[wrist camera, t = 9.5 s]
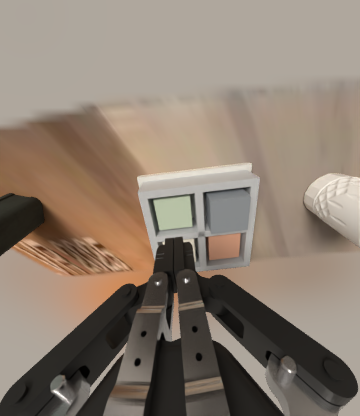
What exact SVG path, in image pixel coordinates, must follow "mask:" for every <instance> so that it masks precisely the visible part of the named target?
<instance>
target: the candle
mask: <svg viewBox="0 0 360 416" xmlns="http://www.w3.org/2000/svg"><path fill="white" fill-rule="evenodd" d="M43 223H44V214H43V209H42V204H41V202H40V201H39V200H38V199H37V198H34V197H24V196H18V195H14V194H13V193H9V194H6V195H4V196H2V197H0V256H1V255H2V254H4V253H5V252H6V251H7V250H9V249H10V248H11V247H13V246H14V245H15V244H17V243H18V242H19V241H20V240H22V239H23V238H24V237H26V236H27V235H28V234H30V233H31V232H32V231H33V230H35V229H36V228H37V227H39V226H40V225H41V224H43Z"/></svg>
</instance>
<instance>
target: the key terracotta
mask: <svg viewBox="0 0 360 416" xmlns="http://www.w3.org/2000/svg"><path fill="white" fill-rule="evenodd" d="M240 235H241V233H235V234H226V235H217V236H208V237H205V238H206V249H207V253H208V256H209V260H216V259H225V258H234V257H239V248H240Z"/></svg>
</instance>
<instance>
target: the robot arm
mask: <svg viewBox="0 0 360 416" xmlns="http://www.w3.org/2000/svg"><path fill="white" fill-rule="evenodd" d="M177 292H178V303H179V307H178V311H179V323H180V335H181V338H180V339H177V340H175V341H172V336H171V335H172V321H173V309H174V293H177ZM206 312H210V313H211V314H212V315H213V317H215V319H216V320H217V321H218V322H219V323H220V324H221V325H222V326H223V327H224V328H225V329H226V330H227V331H228V332H229V333H230V334H231V335H232V336H234V337H235V339H236V340H237V341H239V343H240V344H242V345H243V346H244V347H245V348H246V349H247V350H248V351H249V352H250V353H251V354H252V355H253V356H254V357H255V358H256V359H257V360H258V361H259V362H260V363H261V364H262V365H263V366H264V367H265V368H266V372H265V375H266V380H267V384H268V386H269V388H270V390H271V391H272V393H273V394H274V395H275V397H276V398H277V399H278V401H279V403H280V405H281V407H282V410H283V413H284V414H283V413H282V412H281V411H280V410H279V408H278V407H277V406H276V405H275V404H274V403H273V401H272V400H271V399H270V398H269V397H268V396H267V394H266V393H265V392H264V391H263V390H262V389H261V387H260V386H259V385H258V384H257V383H256V382H255V381H254V379H253V378H252V377H251V376H250V375H249V374H248V373H247V371H246V370H245V369H244V368H243V367H242V366H241V364H240V363H239V362H238V361H237V360H236V359H235V358H234V356H233V355H232V354H231V353H230V352H229V351H228V350H227V349H226V348H225V347H224V346H222V345H221V344H220V343H218V342H216V341H213V340H212V337H211V333H210V329H209V325H208V320H207V316H206ZM126 343H127V346H126V349H125V353H124V354H123V355H122V356H121V357H120V358H119V359H118V360H117V361H116V363H115V364H114V365H113V366H112V368H111V369H110V370H109V372H108V373H107V374H106V376H105V377H104V378H103V380H102V381H101V382H100V384H99V385H98V386H97V387H96V389H95V390H94V391H93V393H92V394H91V395H90V397H89V393H90V387H91V385H92V384H93V383H94V382H95V381H96V380H97V378H98V377H99V376H100V375H101V373H102V372H103V371H104V370H105V369H106V367H107V366H108V365H109V364H110V362H111V361H112V360H113V359H114V358H115V356H116V355H117V354H118V353H119V352H120V350H121V349H122V348H123V347H124V345H125V344H126ZM357 392H358V384H357V381H356V378H355V376H354V374H353V373H352V371H351V370H350V368H349V367H348V366H347V365H346V364H345V363H344V362H343V361H342V360H341V359H340V358H339V357H337V356H336V355H335V354H333V353H332V352H330V351H329V350H327V349H326V348H325V347H323V346H322V345H321V344H319V343H318V342H316V341H315V340H313V339H312V338H311V337H309V336H308V335H307V334H305V333H304V332H302V331H301V330H300V329H298V328H296V327H295V326H294V325H293V324H291V323H290V322H288V321H287V320H286V319H284V318H283V317H281V316H280V315H279V314H277V313H276V312H274V311H273V310H271V309H270V308H269V307H267V306H266V305H265V304H263V303H262V302H260V301H259V300H257V299H256V298H255V297H253V296H252V295H250V294H249V293H247V292H246V291H245V290H243V289H242V288H241V287H239V286H238V285H236V284H235V283H234V282H232V281H231V280H229V279H228V278H227V277H225V276H223V275H214V276H212V277H211V278H210V279H209V278H204V277H201V276H200V275H198V273H197V272H196V269H195V261H194V254H193V246H192V244H191V243H190V242H183V236H181V237H173V238H165V245H159V247H158V248H157V251H156V257H155V264H154V270H153V275H152V276H151V277H150V278H149V280H148V282H147V283H145V284H143V285H140V286H138V287H136V286H135V285H134V284H125V285H123V286H122V287H120V288H119V289H118V290H117V291H116V292H115V293H114V294H113V295H111V296H110V298H108V299H107V300H106V301H105V302H104V303H103V304H102V305H100V306H99V307H98V308H97V309H96V310H95V311H94V312H93V313H92V314H91V315H89V316H88V317H87V318H86V319H85V320H84V321H83V322H82V323H81V324H80V325H78V326H77V327H76V328H75V329H74V330H73V331H72V332H71V333H70V334H68V335H67V336H66V337H65V338H64V339H63V340H62V341H61V342H60V343H59V344H58V345H56V346H55V347H54V348H53V349H52V350H51V351H50V352H49V353H48V354H47V355H45V356H44V357H43V358H42V359H41V360H40V361H39V362H38V363H37V364H35V365H34V366H33V367H32V368H31V369H30V370H29V371H28V372H27V373H26V374H24V375H23V376H22V377H21V378H20V379H19V380H18V381H17V382H16V383H15V384H14V385H13V386H12V387H11V388H10V389H9V390H8V392H7V393H6V394H5V396H4V397H3V399H2V401H1V403H0V416H338V412H339V411H340V410H341V409H342V408H343V407H344V406H345V405H346V404H347V403H348V402H349V401H350V400H351V399H352V398H353V397H354V396H355V395H356V394H357ZM88 397H89V398H88Z"/></svg>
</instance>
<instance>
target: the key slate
mask: <svg viewBox="0 0 360 416" xmlns="http://www.w3.org/2000/svg"><path fill="white" fill-rule="evenodd" d="M205 195H206V218H207V223H208V226H209V229H210V232H211V234H216V233H225V232H234V231H242V230H248V222H249V212H250V202H251V196H250V195H249V194H248V193H247V192H246V191H245V190H244V189H243V188H234V189H226V190H217V191H209V192H205Z"/></svg>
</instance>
